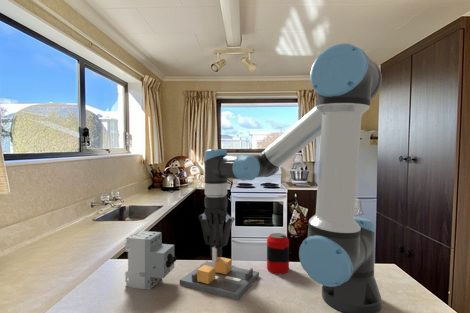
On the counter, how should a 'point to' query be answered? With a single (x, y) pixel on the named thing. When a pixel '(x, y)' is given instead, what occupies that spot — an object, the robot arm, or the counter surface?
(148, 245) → the circuit breaker
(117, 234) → the counter surface
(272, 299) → the counter surface
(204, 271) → the tab
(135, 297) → the counter surface
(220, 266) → the tab
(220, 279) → the switch board
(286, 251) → the soda can
